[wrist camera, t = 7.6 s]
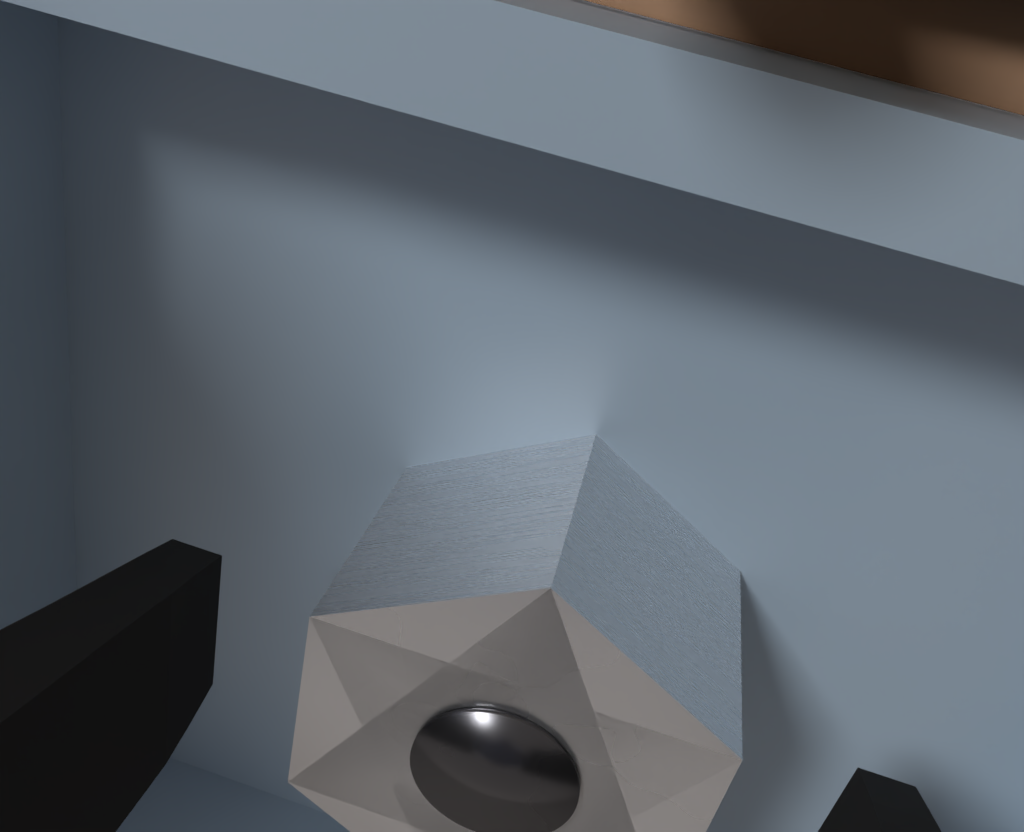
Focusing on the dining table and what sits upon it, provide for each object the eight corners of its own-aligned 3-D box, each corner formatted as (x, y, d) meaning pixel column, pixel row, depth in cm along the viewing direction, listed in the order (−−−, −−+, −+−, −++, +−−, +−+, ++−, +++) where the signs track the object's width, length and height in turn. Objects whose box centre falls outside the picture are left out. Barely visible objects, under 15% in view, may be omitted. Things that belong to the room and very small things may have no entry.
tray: (51, 724, 16) (-54, 841, 14) (0, -153, 10) (-218, -189, 7) (907, 1032, 15) (937, 1214, 13) (1569, 257, 8) (1877, 365, 6)
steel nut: (368, 675, 13) (275, 856, 11) (422, 381, 11) (318, 519, 8) (652, 770, 13) (631, 983, 10) (777, 488, 10) (791, 671, 8)
